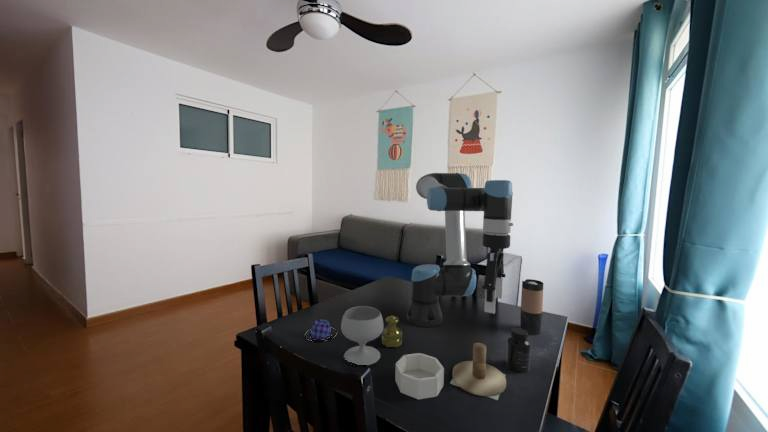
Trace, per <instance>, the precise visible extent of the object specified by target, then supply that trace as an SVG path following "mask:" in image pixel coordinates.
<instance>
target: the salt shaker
mask: <svg viewBox="0 0 768 432" xmlns="http://www.w3.org/2000/svg"><path fill="white" fill-rule="evenodd" d="M399 322H400V318H399V317H397V316H395V315H390V316H387V317H385V323H387V324H388V325H387V326H386V327H383V331H382V333H381V344H382V345H383V346H384V345H385V346H384V347H385V348H389V347H396V348H399V347H400V346H401V345H402V344H403V330H402V329H401V328H399V326H397V324H398V323H399ZM398 346H399V347H398Z"/></svg>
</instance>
